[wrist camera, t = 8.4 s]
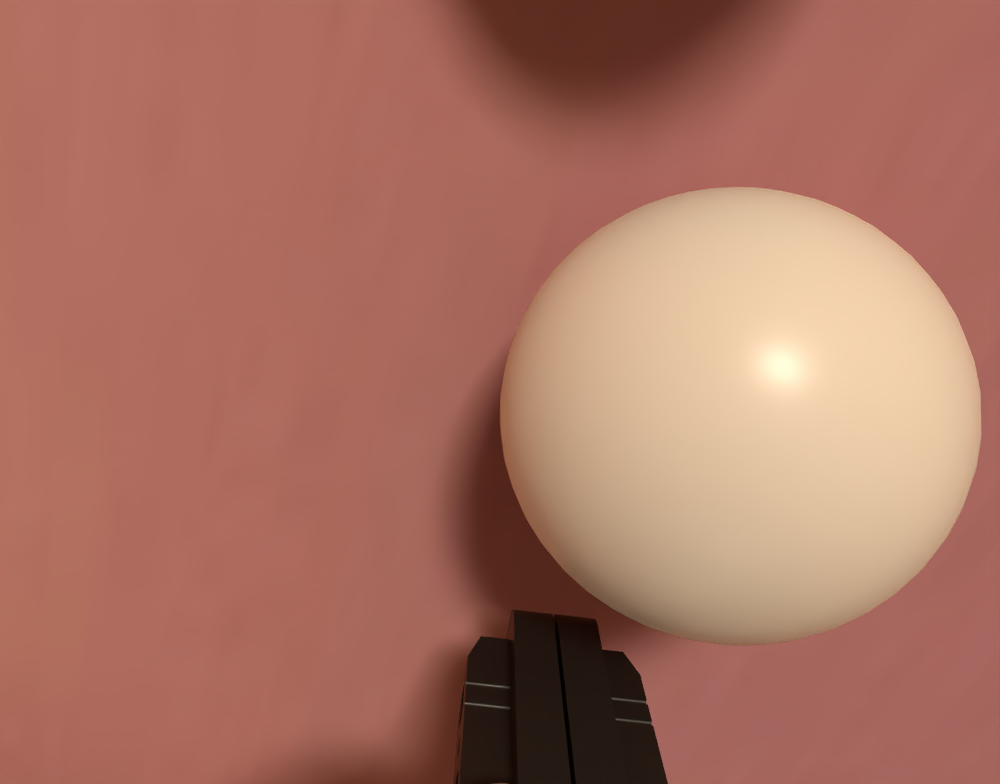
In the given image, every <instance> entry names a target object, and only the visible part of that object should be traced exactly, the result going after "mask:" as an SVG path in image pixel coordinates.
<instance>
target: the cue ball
mask: <svg viewBox="0 0 1000 784" xmlns="http://www.w3.org/2000/svg"><path fill="white" fill-rule="evenodd" d="M500 430H501V439H502V447H503V454H504V460H505V464H506V467H507V471H508V474H509V478H510V481H511V485H512V487H513V490H514V492H515V495H516V497H517V499H518V502H519V504H520V506H521V508H522V511H523V513H524V515H525V517H526V519H527V521H528V523H529V524H530V526H531V528H532V529H533V531H534V532H535V534H536V536H537V537H538V539H539V540H540V542H541V543H542V545H543V546H544V547H545V548H546V550H547V551H548V552H549V553H550V554H551V556H552V557H553V558H554V559H555V560H556V562H557V563H558V564H559V565H560V566H561V568H562V569H563V570H564V571H565V572H566V573H567V574H568V575H569V576H571V577H572V578H573V579H574V580H575V581H576V582H577V583H578V584H579V585H580V586H581V587H583V588H584V589H585V590H586V591H587V592H589V593H590V594H591V595H593V596H594V597H596V598H597V599H599V600H600V601H601V602H603V603H604V604H606V605H607V606H609V607H610V608H612V609H613V610H615V611H617V612H619V613H621V614H622V615H624V616H626V617H628V618H630V619H632V620H634V621H636V622H638V623H640V624H642V625H644V626H647V627H649V628H652V629H655V630H658V631H661V632H664V633H667V634H670V635H673V636H676V637H680V638H684V639H688V640H694V641H700V642H707V643H714V644H722V645H741V646H743V645H761V644H772V643H782V642H789V641H794V640H798V639H801V638H805V637H808V636H812V635H815V634H819V633H823V632H826V631H829V630H832V629H834V628H836V627H838V626H841V625H843V624H845V623H847V622H849V621H851V620H853V619H856V618H858V617H860V616H862V615H864V614H866V613H867V612H869V611H870V610H872V609H873V608H875V607H876V606H878V605H879V604H881V603H882V602H884V601H885V600H887V599H888V598H890V597H891V596H893V595H894V594H896V593H897V592H898V591H899V590H900V589H901V588H903V587H904V586H905V585H906V584H907V583H908V582H909V581H910V580H911V579H912V578H913V577H914V576H915V575H917V574H918V573H919V572H920V571H921V570H922V569H923V567H924V566H925V565H926V564H927V563H928V561H929V560H930V559H931V557H932V556H933V555H934V554H935V552H936V551H937V550H938V548H939V547H940V546H941V545H942V543H943V542H944V541H945V539H946V538H947V536H948V535H949V533H950V531H951V529H952V527H953V525H954V523H955V522H956V520H957V518H958V516H959V514H960V512H961V511H962V508H963V506H964V503H965V500H966V497H967V494H968V491H969V488H970V485H971V482H972V479H973V477H974V474H975V471H976V467H977V461H978V454H979V448H980V442H981V400H980V388H979V383H978V377H977V372H976V367H975V362H974V359H973V356H972V354H971V351H970V348H969V346H968V343H967V341H966V338H965V336H964V333H963V330H962V328H961V325H960V323H959V321H958V318H957V316H956V314H955V313H954V311H953V309H952V308H951V306H950V304H949V303H948V301H947V300H946V298H945V296H944V295H943V293H942V291H941V290H940V289H939V288H938V286H937V285H936V284H935V282H934V281H933V280H932V279H931V277H930V276H929V275H928V274H927V273H926V272H925V270H924V269H923V268H922V267H921V266H920V265H919V264H918V263H917V262H916V260H915V259H914V258H913V257H912V256H911V255H910V254H909V253H907V252H906V251H905V250H904V249H902V248H901V247H900V246H899V245H898V244H896V243H895V242H894V241H893V240H891V239H890V238H889V237H887V236H886V235H885V234H883V233H882V232H881V231H880V230H878V229H877V228H876V227H874V226H872V225H870V224H869V223H867V222H865V221H863V220H862V219H860V218H858V217H856V216H854V215H852V214H850V213H848V212H846V211H844V210H842V209H840V208H838V207H835V206H833V205H830V204H827V203H825V202H822V201H820V200H817V199H813V198H809V197H805V196H801V195H797V194H793V193H788V192H784V191H779V190H771V189H764V188H752V187H726V188H711V189H704V190H697V191H691V192H686V193H682V194H678V195H674V196H670V197H666V198H663V199H660V200H657V201H654V202H652V203H649V204H646V205H644V206H642V207H639V208H637V209H635V210H633V211H631V212H628V213H627V214H625V215H623V216H621V217H620V218H618V219H616V220H614V221H613V222H611V223H609V224H607V225H606V226H604V227H602V228H601V229H599V230H597V231H596V232H595V233H593V234H592V235H591V236H589V237H588V238H587V239H585V240H584V241H583V242H582V243H581V244H580V245H578V246H577V247H576V248H575V249H574V250H573V251H572V252H571V253H570V254H569V255H568V256H567V257H566V258H565V259H564V260H563V261H562V262H561V263H560V264H559V265H558V266H557V267H556V268H555V269H554V270H553V272H552V273H551V274H550V276H549V277H548V278H547V280H546V281H545V282H544V284H543V285H542V286H541V288H540V289H539V290H538V292H537V293H536V294H535V296H534V297H533V299H532V300H531V302H530V304H529V306H528V308H527V310H526V312H525V314H524V316H523V318H522V320H521V322H520V324H519V326H518V328H517V330H516V332H515V335H514V338H513V341H512V344H511V347H510V350H509V353H508V356H507V361H506V365H505V370H504V375H503V382H502V388H501V394H500Z"/></svg>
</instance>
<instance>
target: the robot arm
mask: <svg viewBox="0 0 1000 784" xmlns="http://www.w3.org/2000/svg"><path fill="white" fill-rule="evenodd" d="M651 722H652V720H651V716H650V712H649V708H648V705H646V696H645V692H644V688H643V684H642V680H641V676H640V674H639V673H638V671H637V670H636V669H635V667H634V666H633V665H632V663H631V662H630V661H629V659H628V658H627V657H626V655H625V654H624V653H623V652H618V651H609V650H602V646H601V641H600V636H599V631H598V626H597V622H596V620H595V619H591V618H582V617H574V616H565V615H556V614H555V615H554V617H553V615H552V614H546V613H537V612H528V611H519V610H512V612H511V616H510V621H509V627H508V633H507V639H500V638H492V637H483V636H481V637H480V639H479V640H478V642H477V643H476V645H475V646H474V648H473V649H472V651H471V652H470V654H469V655H468V659H467V666H466V673H465V679H464V686H463V693H462V700H461V706H460V713H459V720H458V731H457V744H456V757H455V773H454V784H668V782H667V779H666V775H665V771H664V767H663V763H662V759H661V755H660V751H659V747H658V743H657V739H656V735H655V731H654V727H653V726H652V725H651Z"/></svg>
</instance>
